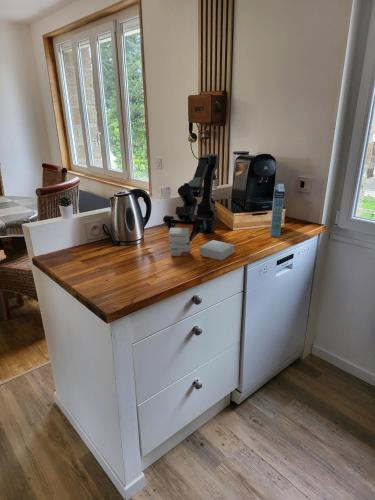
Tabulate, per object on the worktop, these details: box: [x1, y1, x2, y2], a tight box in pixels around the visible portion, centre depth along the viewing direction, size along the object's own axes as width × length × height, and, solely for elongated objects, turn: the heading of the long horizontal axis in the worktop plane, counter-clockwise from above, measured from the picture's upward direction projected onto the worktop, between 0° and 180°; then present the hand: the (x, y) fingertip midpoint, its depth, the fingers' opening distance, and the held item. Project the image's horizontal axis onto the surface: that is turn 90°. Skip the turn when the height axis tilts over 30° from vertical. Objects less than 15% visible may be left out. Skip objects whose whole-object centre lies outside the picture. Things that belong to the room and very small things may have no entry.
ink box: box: [168, 227, 192, 257], centre depth 144 cm, size 9×5×12 cm, turn 84°
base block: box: [198, 239, 235, 261], centre depth 148 cm, size 11×11×4 cm
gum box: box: [270, 183, 286, 238], centre depth 172 cm, size 20×5×23 cm, turn 166°
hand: (179, 239), depth 144 cm, fingers closed on ink box, 9 cm apart
